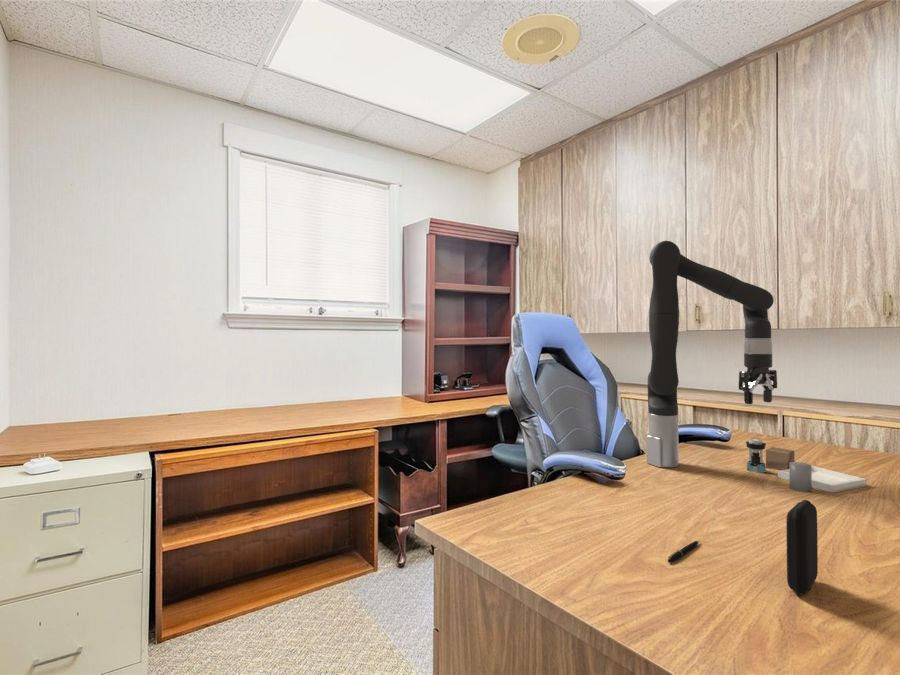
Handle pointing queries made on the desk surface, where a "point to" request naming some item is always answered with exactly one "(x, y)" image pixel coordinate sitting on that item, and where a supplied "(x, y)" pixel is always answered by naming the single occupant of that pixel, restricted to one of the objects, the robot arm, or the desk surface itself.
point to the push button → (756, 456)
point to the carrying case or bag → (802, 547)
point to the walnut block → (779, 458)
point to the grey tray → (829, 480)
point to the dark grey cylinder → (800, 476)
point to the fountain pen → (681, 552)
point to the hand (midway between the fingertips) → (758, 403)
